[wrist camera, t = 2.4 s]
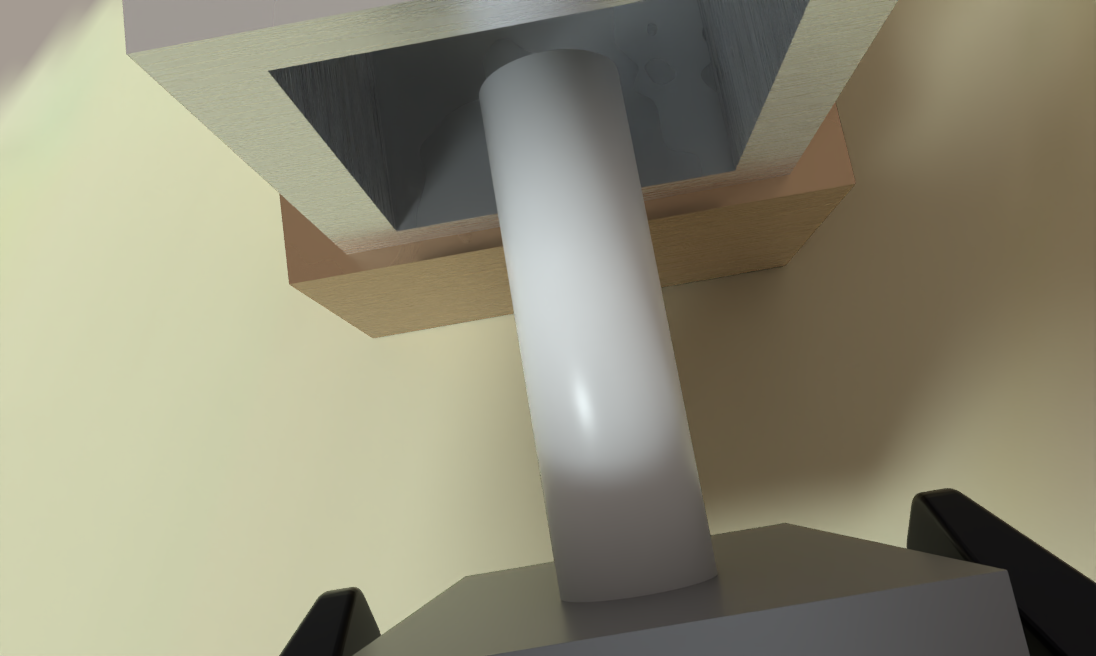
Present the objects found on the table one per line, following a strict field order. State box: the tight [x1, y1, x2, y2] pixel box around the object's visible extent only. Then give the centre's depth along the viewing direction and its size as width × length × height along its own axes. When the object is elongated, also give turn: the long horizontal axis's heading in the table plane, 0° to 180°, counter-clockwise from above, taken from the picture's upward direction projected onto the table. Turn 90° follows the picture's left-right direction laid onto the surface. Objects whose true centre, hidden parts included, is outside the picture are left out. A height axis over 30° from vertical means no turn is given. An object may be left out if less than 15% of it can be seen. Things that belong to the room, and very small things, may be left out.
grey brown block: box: [123, 0, 898, 338], centre depth 12 cm, size 6×8×10 cm
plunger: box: [353, 49, 1030, 656], centre depth 10 cm, size 8×5×7 cm, turn 10°
